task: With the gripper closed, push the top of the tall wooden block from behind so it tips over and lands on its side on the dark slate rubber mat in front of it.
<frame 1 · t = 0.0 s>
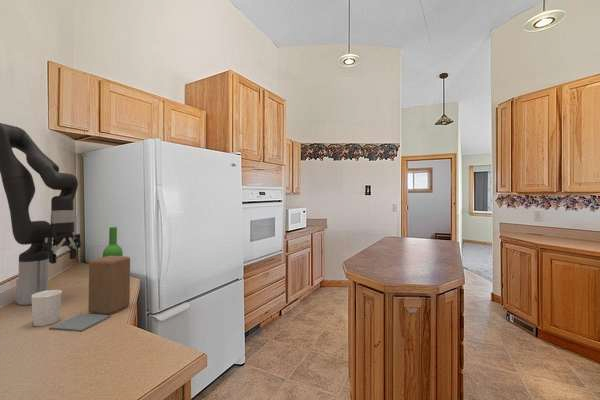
hand: (63, 261, 118), 17 cm above the counter, tool pointing down, fingers open, 8 cm apart
wooden block: (109, 310, 112), on the counter
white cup: (46, 322, 99), on the counter
wine bottle: (112, 293, 131), on the counter
slate rubber mat: (81, 322, 99), on the counter
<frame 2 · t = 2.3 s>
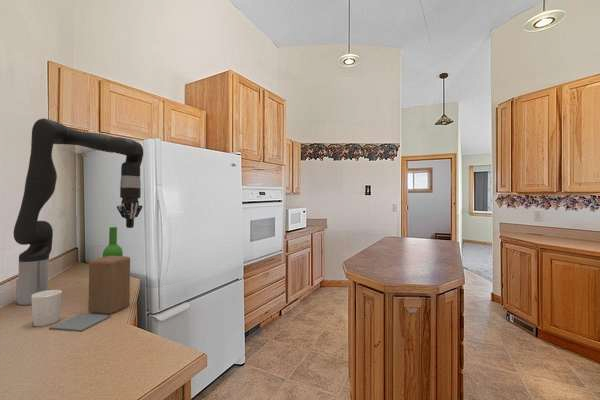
hand: (129, 227, 122), 31 cm above the counter, tool pointing down, fingers closed
nothing on the counter moved.
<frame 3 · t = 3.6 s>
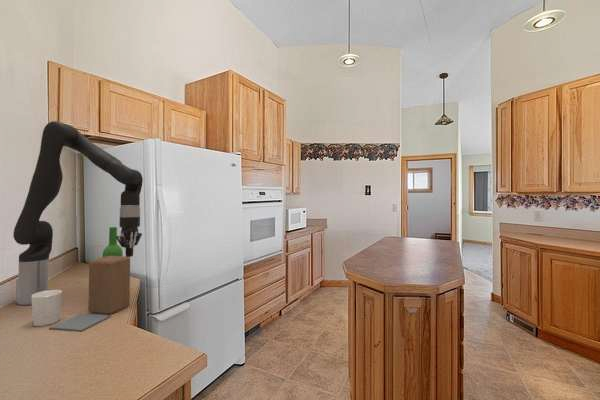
hand: (129, 256, 122), 19 cm above the counter, tool pointing down, fingers closed
nothing on the counter moved.
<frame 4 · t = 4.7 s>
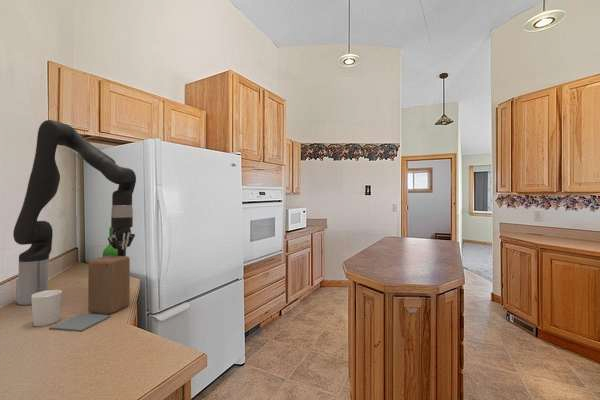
hand: (121, 258, 118), 19 cm above the counter, tool pointing down, fingers closed
wooden block: (109, 309, 112), on the counter, touching gripper
everything else where it was.
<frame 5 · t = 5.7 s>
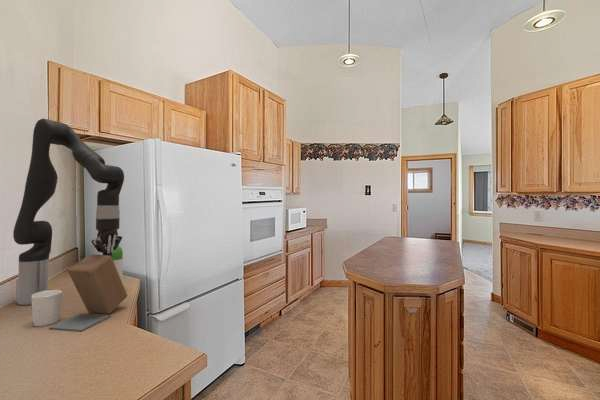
hand: (107, 262, 110), 19 cm above the counter, tool pointing down, fingers closed
wooden block: (108, 304, 111), point 2 cm above the counter
everything else where it was.
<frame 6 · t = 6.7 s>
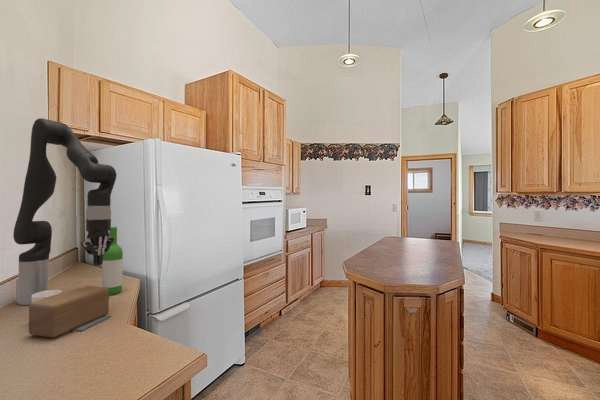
hand: (98, 265, 106), 19 cm above the counter, tool pointing down, fingers closed
wooden block: (99, 299, 107), point 6 cm above the counter, touching slate rubber mat
everything else where it was.
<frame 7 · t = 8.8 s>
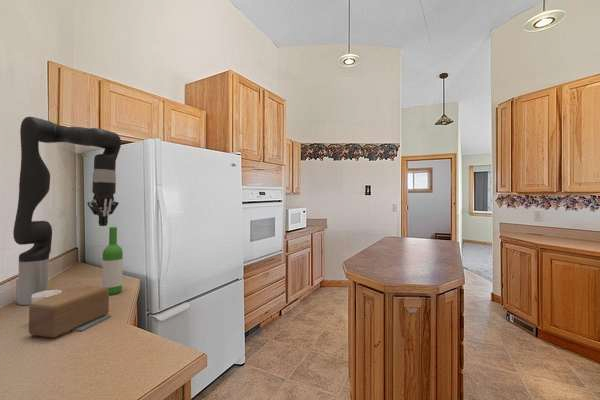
hand: (102, 225, 113), 32 cm above the counter, tool pointing down, fingers closed
nothing on the counter moved.
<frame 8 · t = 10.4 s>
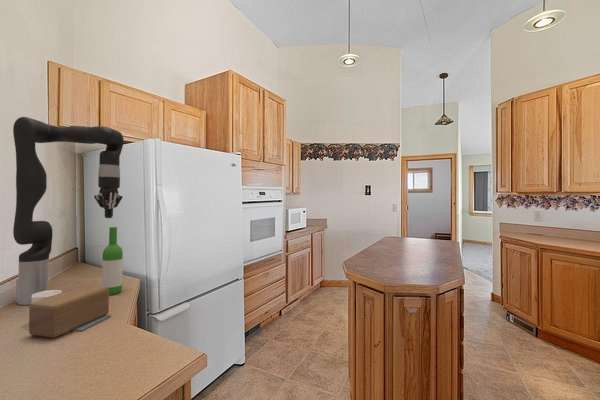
hand: (108, 217, 120), 35 cm above the counter, tool pointing down, fingers closed
nothing on the counter moved.
at the end: wooden block tilted 90°; wooden block touching slate rubber mat; wooden block inside the target area (0.9 cm from its centre), point 5.6 cm above the counter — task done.
